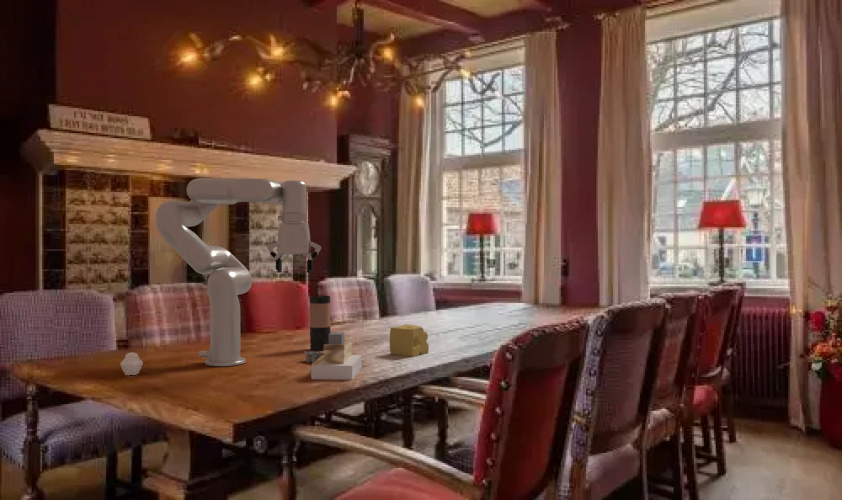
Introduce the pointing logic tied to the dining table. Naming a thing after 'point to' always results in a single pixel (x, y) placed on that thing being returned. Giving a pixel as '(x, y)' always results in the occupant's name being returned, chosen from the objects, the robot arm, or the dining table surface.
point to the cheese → (408, 340)
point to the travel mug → (319, 322)
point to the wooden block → (337, 353)
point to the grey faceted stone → (131, 364)
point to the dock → (336, 369)
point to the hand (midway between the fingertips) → (294, 272)
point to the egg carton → (313, 356)
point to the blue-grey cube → (336, 338)
